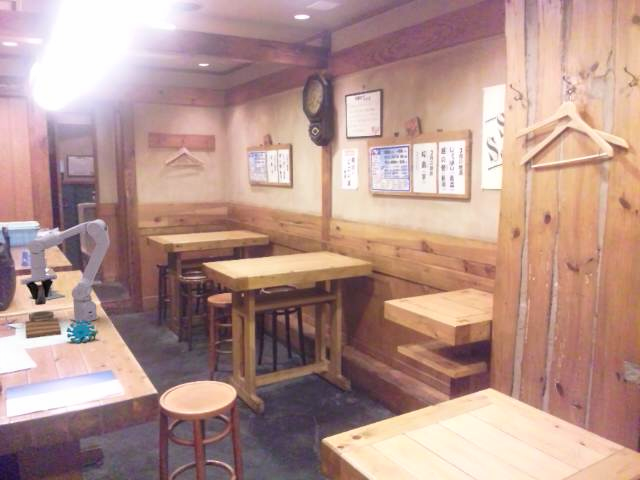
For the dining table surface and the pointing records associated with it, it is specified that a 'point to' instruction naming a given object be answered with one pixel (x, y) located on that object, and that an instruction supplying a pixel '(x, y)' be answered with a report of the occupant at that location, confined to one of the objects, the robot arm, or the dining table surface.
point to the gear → (81, 331)
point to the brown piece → (42, 324)
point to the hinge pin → (40, 295)
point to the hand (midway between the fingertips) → (40, 298)
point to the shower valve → (52, 295)
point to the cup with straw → (49, 273)
